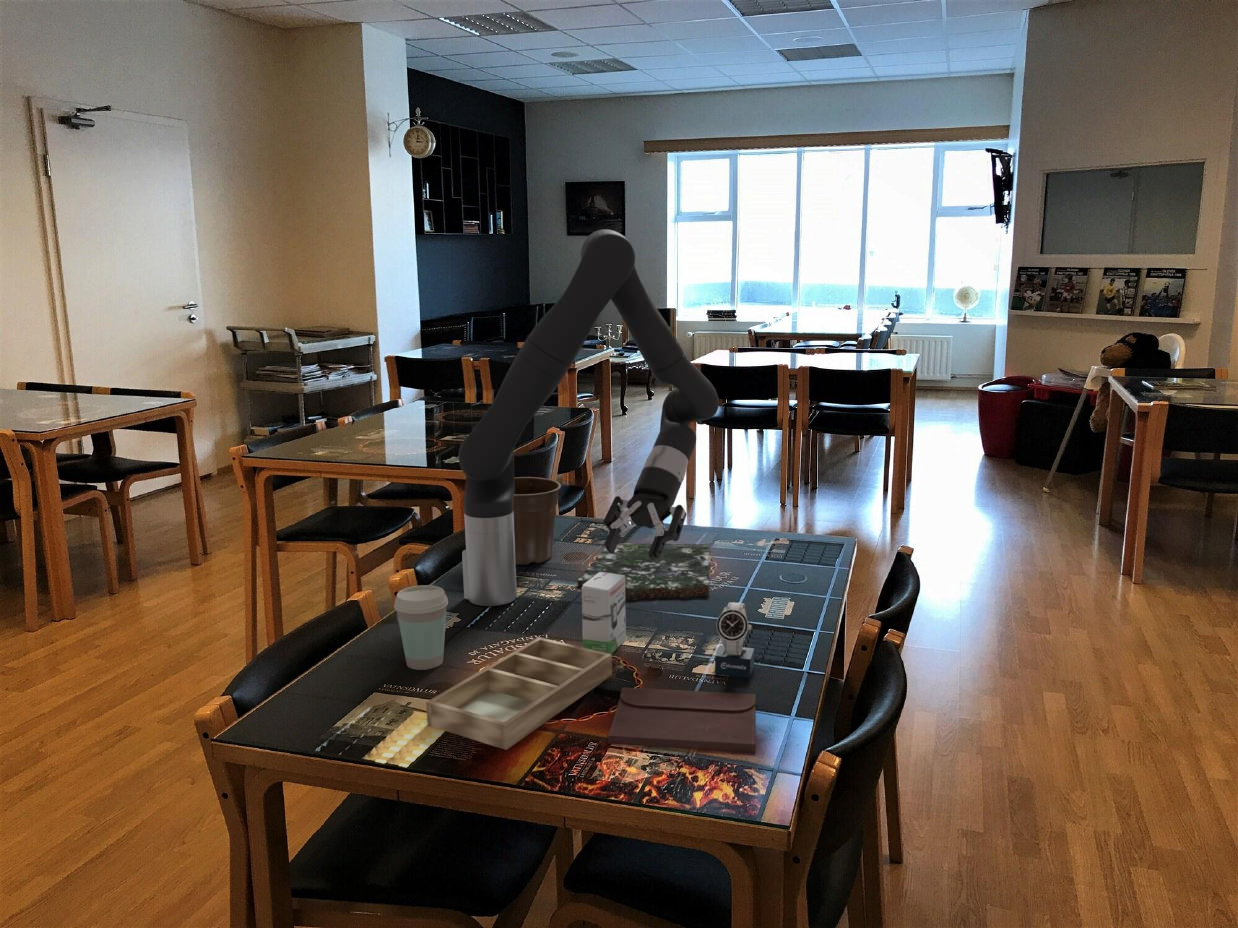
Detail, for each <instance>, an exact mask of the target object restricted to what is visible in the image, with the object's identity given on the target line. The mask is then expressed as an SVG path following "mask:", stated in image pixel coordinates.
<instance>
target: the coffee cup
mask: <svg viewBox="0 0 1238 928" xmlns="http://www.w3.org/2000/svg"><path fill="white" fill-rule="evenodd" d="M448 604H449V600H448V597H447V595H446V592H445V589H443V588H442V587H440V586H437V585H429V584H427V585H426V584H425V585H424V584H423V585H422V584H420V585H414V586H413V585H412V586H409V587H405V588H403V589H401V590H399V591H398V592H397V594H396V598H395V600H394V605H393V608H394V609H395V610H396V615H397V619H398V625H399V631H400V636H401V641H402V647H403V652H404V657H405V662H406V666H407V667H408V668H409V669H412V670H416V671H426V670H431V669H435V668H438V667H439V666H441V665H442V664H443V662H444V653H445V652H444V650H445V636H446V635H445V633H446V620H447V619H446V618H447V606H448Z"/></svg>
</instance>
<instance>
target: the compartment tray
mask: <svg viewBox="0 0 1238 928" xmlns="http://www.w3.org/2000/svg"><path fill="white" fill-rule="evenodd" d="M612 655H613V653H612V654H608V653H604V652H600V651H596V650H591V649H587V648H583V646H578V645H573V644H569V643H566V642H563V641H562V642H561V641H558V640H552V639H548V638H544V637H541V636H539V637H537V638H535V639H533V640H531V641H530V642H527V643H525V644H524V645H523V646H521V647H519V648H518V649H516V650H514V651H512V652H511V653H509V654H507V655H506V656H504V657H502V658H500V659H498V660H496V661H495V662H493V663H492V664H490V665H488V666H486V667H484V668H483V669H482V670H479V671H477V673H474V674H473V675H470V676H469V677H467V678H466V679H464V680H462V681H460V682H459V683H457V684H455V685H454V686H452V687H449V688H448V689H447V690H445V691H443V692H441V693H440V694H438V695H436V696H434V697H432V698H431V699H429V700H428V701H425V707H426V722H427V723H426V724H427V726H428V727H431V728H435V729H439V730H442V731H445V732H447V733H451V734H453V735H457V736H461V737H465V738H466V739H470V740H474V741H477V742H480V743H482V744H485V745H489V746H493V747H496V748H499V749H502V750H505V751H507V750H508V749H510V748H512V747H513V746H514V745H516V744H517V743H518V742H520V741H521V740H522V739H524V738H526V737H527V736H528V735H530V734H531V733H533V732H534V731H535V730H536V729H538V728H539V727H541V726H543V725H544V724H545V723H547V722H548V721H549V720H551V719H552V718H554V717H555V716H557V715H558V714H559V713H561V712H562V711H564V710H565V709H566V708H568V707H569V706H571V705H572V704H573V703H575V702H577V701H578V700H579V699H581V698H582V697H583V696H584V695H586V694H587V693H589V692H590V691H592V690H593V689H594V688H596V687H597V686H599V685H600V684H602V683H603V682H604V681H606V680H608V679H609V678H610V677H612V676H613V658H612V657H613V656H612Z"/></svg>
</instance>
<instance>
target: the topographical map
mask: <svg viewBox="0 0 1238 928" xmlns="http://www.w3.org/2000/svg"><path fill="white" fill-rule="evenodd" d="M651 546H652V543H628V542H627V543H626V542H625V543H624V542H623V543H622V542H621V543H620V542H618V544H617V547H616V549H615V552H614V553H609V552H608V550H607V549H606V547H604V548H603V550H602V551H601V553H600V554H599V555H598V556H597V557H596V558H595V560H594V561H593V563H591V565H590V566H589V567H586V570H584V571H583V573H582V575H580V576H579V578H578V579H577V588H582V587H583V584H584V583H586V582H587V581H588V580H590V579H591V578H592V577H594V576H595V575H596V574H597V573H599V572H605V573H612V574H620V575H625V599H627V601H628V600H630V601H637V600H640V599H654V598H657V599H658V598H665V599H666V598H667V599H675V598H683V599H689V598H695V597H707V598H708V597H710V544H698V543H697V544H692V543H689V544H688V543H685V544H684V543H666V544H665V546H664V549H663V551H662V554H661V556H660V557H659V558H657V560H656V561H654V560H651V559H650V557H649V551H650V548H651Z"/></svg>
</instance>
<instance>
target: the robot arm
mask: <svg viewBox="0 0 1238 928" xmlns="http://www.w3.org/2000/svg"><path fill="white" fill-rule="evenodd" d="M635 265H636V253H635V249H634V246H633V244H632V243H631V241H630V240H628V238H627V237H625V236H624V235H623V234H622V233H620V232H618V231H616V230H613V229H599V230H595V231H594V232H592V233H590V234H589V235H588V236H587V237H586V238H585V240H584V241H583V244H582V247H581V252H580V262H579V264H578V265H577V268H576V270H575V272H574V275H572V278H571V280H570V282H569V284H568V285H567V287H566V289H565V291H564V292H563V294H562V295H561V296H560V297H559V299H558V300H557V301H556V303H554V304H553V306H552V307H550V309H549V310H548V311H547V312H546V313H545V314H544V315H543V317H542V318H541V319H540V320H539V321H538V322H537V324H536V325H535V326H534V328H533V329H532V330H531V332H530V334H528V336H527V337H526V339H525V341H524V343H523V344H522V345H521V347H520V349H519V351H518V353H517V354H516V356H515V358H514V360H513V362H512V364H511V365H510V367H509V369H508V371H507V373H506V375H505V377H504V378H503V380H502V382H501V385H500V387H499V388H498V391H497V393H496V395H495V398H494V399H493V401H492V403H491V405H490V406H489V407H488V409H487V410H486V412H485V413H484V414H483V416H482V417H481V419H480V420H479V421H478V422H477V424H475V427H473V429H472V430H471V432H470V433H468V435H467V436H466V437H464V440H462V442H461V444H460V445H459V446H460V447H459V450H458V463H459V467H460V469H461V471H462V472H463V474H464V475H465V493H464V497H463V513H464V514H463V515H464V534H465V536H464V537H465V549H464V550H462V552H461V554H462V555H461V556H462V557H461V561H462V575H463V576H462V580H463V596H464V597H463V598H464V599H465V600H468V601H469V603H470V604H472V605H473V604H474V605H476V606H483V607H495V606H503V605H507V604H509V603H512V602H514V601H515V600H516V599H517V597H518V596H517V567H516V566H517V565H516V561H515V535H514V510H513V500H514V489H515V485H514V478H515V453H514V449H515V446H516V445H517V443H518V441H519V439H520V438H521V436H522V433H523V432H524V430H525V428H526V427H527V426H528V424H529V422H530V421H531V420H532V419H533V417H534V416H535V415H536V413H537V412H538V411H540V409H541V408H542V407H543V405H544V404H545V403H546V402H547V401H548V400H549V398H550V397H551V395H552V394H553V392H555V390H556V389H557V387H558V386H559V384H560V383H561V382H562V380H563V379H564V377H565V376H566V374H567V372H568V371H569V369H570V368H571V366H572V364H573V362H574V361H575V360H576V357H577V356H578V354H579V352H580V351H581V349H582V347H583V345H584V343H585V341H586V340H587V338H588V336H589V334H590V333H591V330H592V328H593V326H594V324H595V322H596V321H597V320H598V318H599V316H600V314H601V313H602V312H603V310H604V309H605V307H607V305H608V303H610V301H611V302H612V303H613V305H614V306H615V308H616V309H617V311H618V313H619V314H620V316H621V318H622V319H623V321H624V324H625V326H626V328H627V329H628V331H629V333H630V336H631V337H632V340H633V342H634V343H635V345H636V347H637V349H638V351H639V354H640V355H641V356H642V358H643V360H644V362H645V364H646V365H647V366H648V368H649V370H650V372H651V374H652V376H653V377H654V379H655V380H656V381H657V382H658V383H660V384H662V385H663V384H665V385H671V386H674V387H675V388H674V389H672V390H670V392H668V394H667V395H666V397H665V399H664V400H663V403H662V406H661V407H662V408H661V415H660V416H661V417H660V424H659V425H660V426H659V433H658V435H657V436H656V440H655V442H654V444H653V446H652V449H651V450H650V453H649V454H648V456H647V458H646V459H645V462H644V465H643V468H642V470H641V472H640V474H639V477H638V479H637V481H636V484H635V487H634V489H633V495H632V496H631V498H629V500H627V499H622V498H621V496H619V495H616V496H615V497H614V498H613V500H612V502H611V505H610V507H609V509H608V510H607V513H606V514H605V516H604V519H603V522H602V523H603V525H605V527H606V528H607V530H608V531H609V533H608V535H607V536H606V537H607V538H606V540H605V543H604V546H605V548H606V549H607V550H608V552H609V553H614V552H615V549H616V547H617V544H618V543H620V542H619V541H620V539H621V535H622V534H623V533H624V532H626V531H627V530H632V529H633V528H634V527H635V526H637V527H640V528H641V527H643V528H644V527H646V528H648V529H653V528H655V531H656V534H657V535H655V536H654V538H653V541H652V543H651V544H652V546H651V548H650V551H649V557H650V559H651V560H654V561H656V560H657V558H659V557H660V556H661V554H662V551H663V549H664V546H665V544H668V542H671V541H674V542H677V541H679V539H680V536H681V534H682V533H681V532H682V530H683V526H684V523H685V521H686V518H687V515H688V514H687V512H686V510H685V508H684V507H683V505H682V504H677V505H676V506H674V505H675V502H676V499H677V496H678V494H679V491H680V489H681V487H682V484H683V481H684V479H685V476H686V472H687V469H688V465H689V462H690V460H691V457H692V454H693V452H694V449H695V446H696V443H697V435H696V432H695V431H694V430H693V429H692V428H690V426H689V425H690V424H692V423H697V422H701V421H706V420H711V419H712V418H713V417H715V415H716V414H717V412H718V410H719V407H720V406H719V405H720V401H719V396H718V392H717V390H716V388H715V387H714V385H713V384H712V382H711V381H710V380H709V379H708V378H707V377H706V376H705V375H704V374H703V373H702V371H700V370H699V368H698V367H697V366H696V365H695V364H693V363H692V362H691V360H690V359H688V357H687V355H686V352H684V350H683V348H682V346H681V345H680V343H679V341H678V339H677V338H676V336H675V334H674V332H673V331H672V329H671V327H670V326H669V324H668V323H667V321H666V320H665V318H664V317H663V316H662V314H661V312H660V311H659V310H658V308H657V307H656V306H655V304H654V302H653V301H652V298H651V297H650V296H649V294H648V292H647V291H646V289H645V286H644V284H643V283H642V281H641V279H640V276H639V274H638V272H637V269H636V266H635ZM670 516H671V520H670V524H669V526H668V529H666V526H665V523H664V521H665V520H666V519H667V518H669V517H670ZM629 518H630V520H628V519H629Z"/></svg>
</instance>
